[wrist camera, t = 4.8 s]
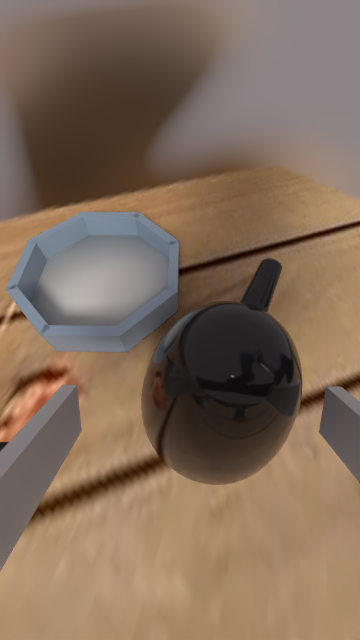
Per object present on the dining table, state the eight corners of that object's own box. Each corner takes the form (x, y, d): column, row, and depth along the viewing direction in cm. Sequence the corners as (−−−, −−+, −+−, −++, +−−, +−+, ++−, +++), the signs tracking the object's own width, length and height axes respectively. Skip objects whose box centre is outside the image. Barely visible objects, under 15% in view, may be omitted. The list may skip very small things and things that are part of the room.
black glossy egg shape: (280, 386, 24) (403, 281, 10) (241, 510, 19) (378, 600, 6) (182, 341, 26) (182, 210, 13) (126, 441, 21) (37, 394, 8)
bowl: (120, 217, 36) (114, 194, 33) (208, 285, 30) (211, 264, 27) (4, 283, 30) (-16, 262, 27) (84, 386, 24) (70, 374, 21)
